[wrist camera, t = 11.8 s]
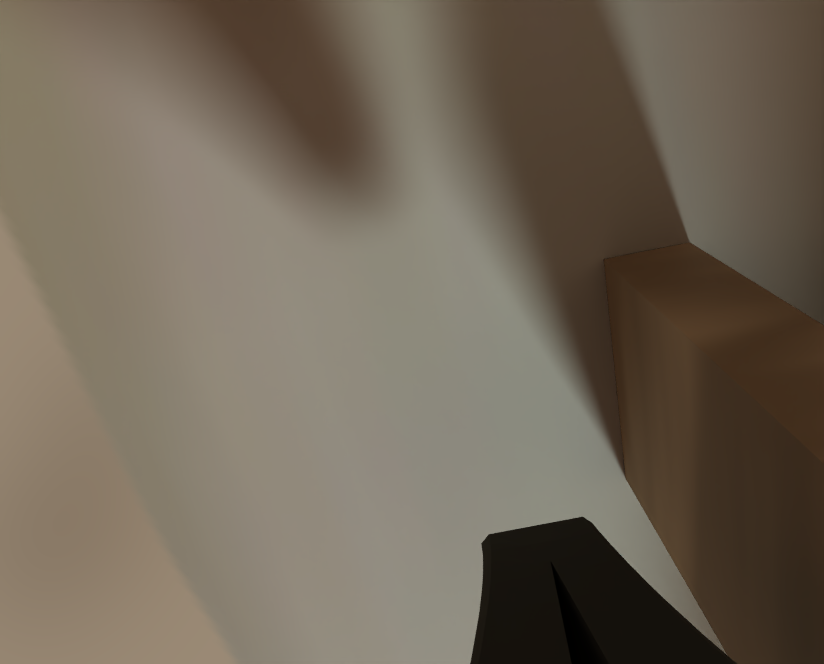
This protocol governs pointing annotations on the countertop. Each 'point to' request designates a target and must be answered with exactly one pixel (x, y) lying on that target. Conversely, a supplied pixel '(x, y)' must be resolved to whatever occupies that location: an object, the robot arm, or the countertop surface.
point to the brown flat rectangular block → (726, 443)
